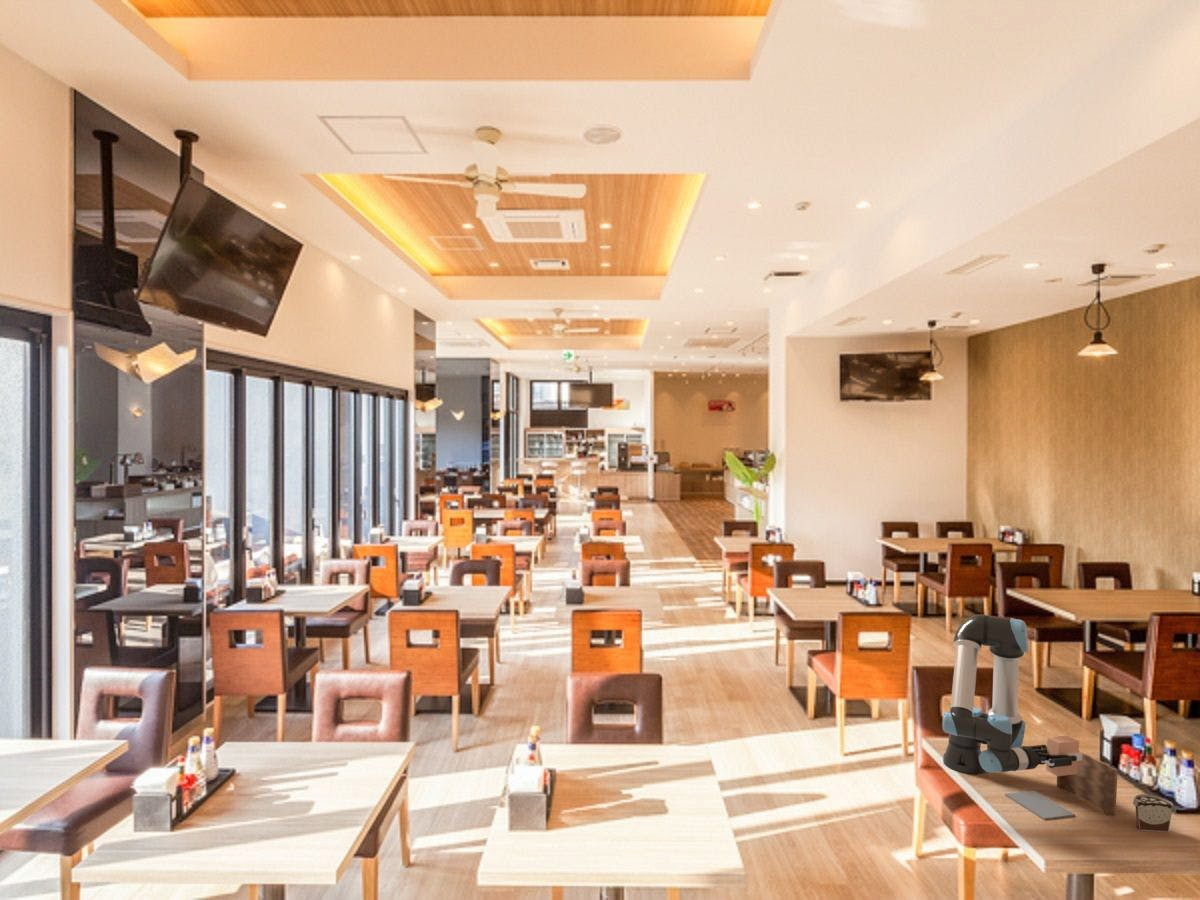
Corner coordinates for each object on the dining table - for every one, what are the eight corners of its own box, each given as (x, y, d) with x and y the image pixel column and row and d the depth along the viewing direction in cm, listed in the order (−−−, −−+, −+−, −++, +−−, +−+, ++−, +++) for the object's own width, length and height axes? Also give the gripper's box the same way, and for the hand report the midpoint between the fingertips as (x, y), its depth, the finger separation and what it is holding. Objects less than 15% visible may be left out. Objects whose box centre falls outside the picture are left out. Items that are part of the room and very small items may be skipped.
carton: (1046, 770, 280) (1047, 737, 279) (1066, 768, 282) (1067, 735, 282) (1057, 776, 275) (1058, 743, 274) (1077, 774, 277) (1079, 741, 277)
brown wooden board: (1056, 786, 292) (1058, 745, 291) (1064, 785, 293) (1066, 744, 292) (1107, 815, 271) (1109, 770, 270) (1115, 814, 271) (1117, 769, 271)
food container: (1161, 823, 266) (1163, 794, 266) (1173, 832, 260) (1174, 803, 260) (1124, 820, 267) (1125, 792, 267) (1134, 829, 261) (1135, 800, 261)
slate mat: (1005, 795, 284) (1005, 793, 284) (1034, 792, 287) (1034, 790, 287) (1043, 819, 267) (1043, 818, 267) (1074, 816, 270) (1074, 814, 270)
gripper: (1001, 758, 282) (1053, 752, 288) (1041, 780, 265) (1095, 774, 271) (1002, 738, 282) (1054, 733, 288) (1042, 758, 265) (1096, 753, 271)
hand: (1074, 752), depth 279 cm, fingers closed on carton, 5 cm apart
